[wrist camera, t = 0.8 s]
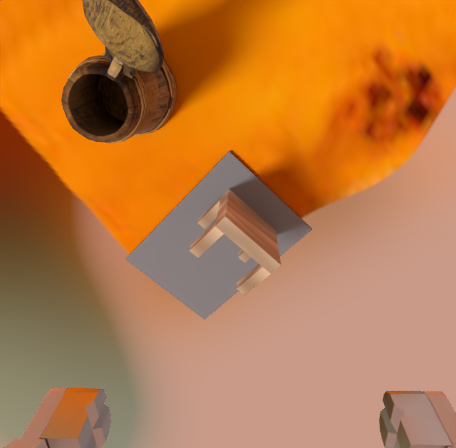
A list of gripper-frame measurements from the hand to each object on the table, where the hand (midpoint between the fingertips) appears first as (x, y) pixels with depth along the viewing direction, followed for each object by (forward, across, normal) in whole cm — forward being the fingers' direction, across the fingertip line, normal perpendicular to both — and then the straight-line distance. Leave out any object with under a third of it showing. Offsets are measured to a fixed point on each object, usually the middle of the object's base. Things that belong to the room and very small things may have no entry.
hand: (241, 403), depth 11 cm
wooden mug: (+35, +10, -7) cm, 37 cm away
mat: (+35, +4, +13) cm, 37 cm away
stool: (+34, +1, +11) cm, 36 cm away
